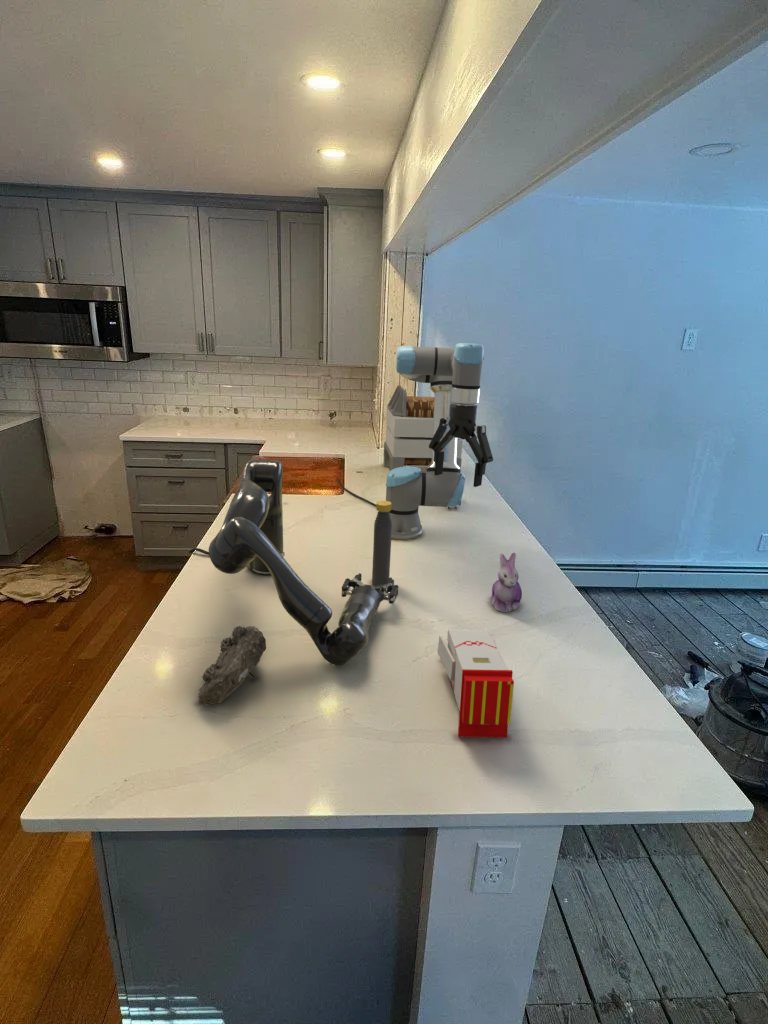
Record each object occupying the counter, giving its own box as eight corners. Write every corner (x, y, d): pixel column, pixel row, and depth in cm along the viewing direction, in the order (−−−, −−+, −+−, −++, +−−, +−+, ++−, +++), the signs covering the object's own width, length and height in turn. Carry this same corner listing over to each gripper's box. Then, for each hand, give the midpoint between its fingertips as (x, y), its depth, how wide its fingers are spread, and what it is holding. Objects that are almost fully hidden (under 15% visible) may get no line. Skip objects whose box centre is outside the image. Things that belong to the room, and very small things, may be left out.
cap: (373, 507, 157) (374, 501, 156) (387, 506, 159) (388, 499, 158) (379, 512, 154) (380, 506, 153) (393, 511, 155) (394, 504, 154)
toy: (488, 613, 130) (523, 677, 101) (484, 667, 133) (517, 744, 104) (435, 612, 130) (455, 676, 101) (432, 666, 133) (451, 743, 103)
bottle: (369, 580, 165) (372, 502, 157) (384, 578, 167) (388, 500, 159) (375, 587, 161) (379, 508, 153) (391, 585, 163) (395, 506, 154)
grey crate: (382, 463, 289) (386, 382, 275) (445, 464, 293) (451, 384, 279) (390, 482, 257) (394, 392, 243) (460, 483, 261) (468, 394, 247)
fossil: (217, 628, 129) (265, 598, 124) (246, 656, 132) (293, 628, 127) (177, 698, 110) (231, 666, 105) (211, 729, 113) (266, 699, 108)
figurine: (503, 617, 148) (510, 564, 143) (480, 599, 156) (486, 549, 151) (531, 609, 152) (539, 558, 147) (507, 593, 161) (513, 544, 156)
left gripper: (333, 616, 141) (349, 587, 156) (389, 624, 139) (400, 594, 154) (334, 589, 139) (350, 562, 154) (391, 597, 136) (402, 569, 151)
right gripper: (512, 409, 145) (502, 488, 153) (437, 396, 161) (431, 468, 169) (495, 412, 140) (486, 493, 147) (419, 398, 156) (414, 472, 164)
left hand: (375, 578), depth 154 cm, fingers open, 8 cm apart
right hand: (457, 480), depth 158 cm, fingers open, 13 cm apart
